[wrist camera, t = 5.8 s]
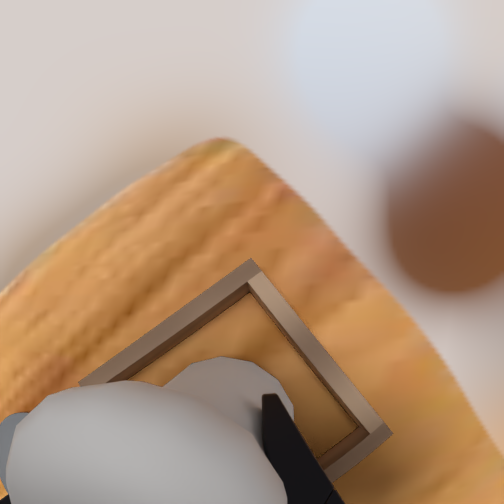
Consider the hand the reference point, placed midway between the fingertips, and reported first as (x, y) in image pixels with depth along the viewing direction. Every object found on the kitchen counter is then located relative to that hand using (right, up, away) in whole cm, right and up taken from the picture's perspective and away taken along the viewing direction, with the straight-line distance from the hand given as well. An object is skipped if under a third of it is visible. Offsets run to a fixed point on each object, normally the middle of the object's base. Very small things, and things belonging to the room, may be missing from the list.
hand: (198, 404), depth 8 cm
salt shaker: (0, -4, +6) cm, 7 cm away
